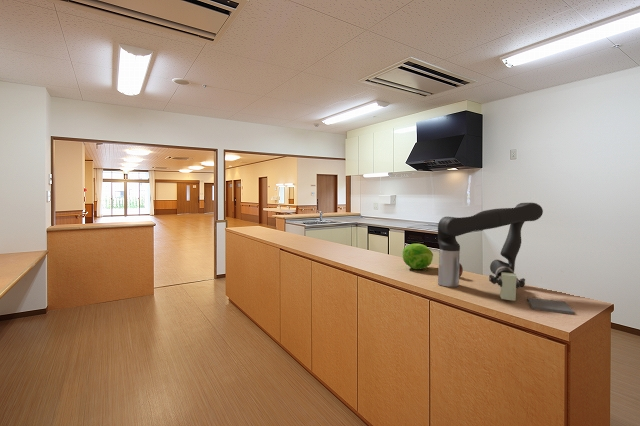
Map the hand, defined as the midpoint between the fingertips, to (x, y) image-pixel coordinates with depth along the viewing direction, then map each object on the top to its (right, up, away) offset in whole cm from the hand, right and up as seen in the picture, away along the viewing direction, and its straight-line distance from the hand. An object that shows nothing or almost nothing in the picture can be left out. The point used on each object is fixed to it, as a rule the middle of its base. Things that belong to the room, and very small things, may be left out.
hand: (509, 285), depth 132 cm
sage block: (+1, -6, +3) cm, 7 cm away
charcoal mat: (+14, -8, -3) cm, 16 cm away
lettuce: (-18, -4, +62) cm, 65 cm away
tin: (-5, -5, +45) cm, 46 cm away
